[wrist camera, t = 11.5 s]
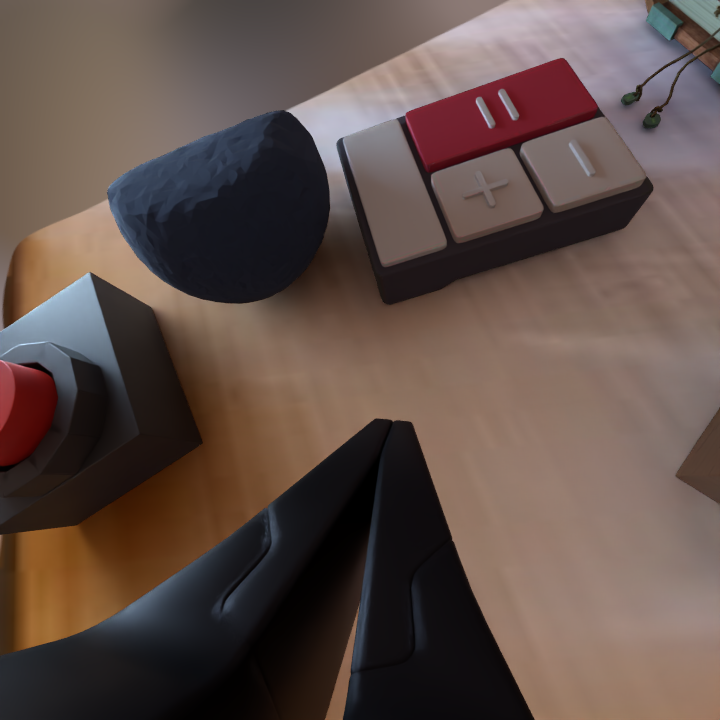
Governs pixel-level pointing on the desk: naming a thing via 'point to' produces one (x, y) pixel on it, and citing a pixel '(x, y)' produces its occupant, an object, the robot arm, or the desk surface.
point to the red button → (24, 410)
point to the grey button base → (93, 406)
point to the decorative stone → (228, 210)
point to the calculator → (488, 180)
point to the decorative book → (684, 39)
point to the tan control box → (704, 462)
